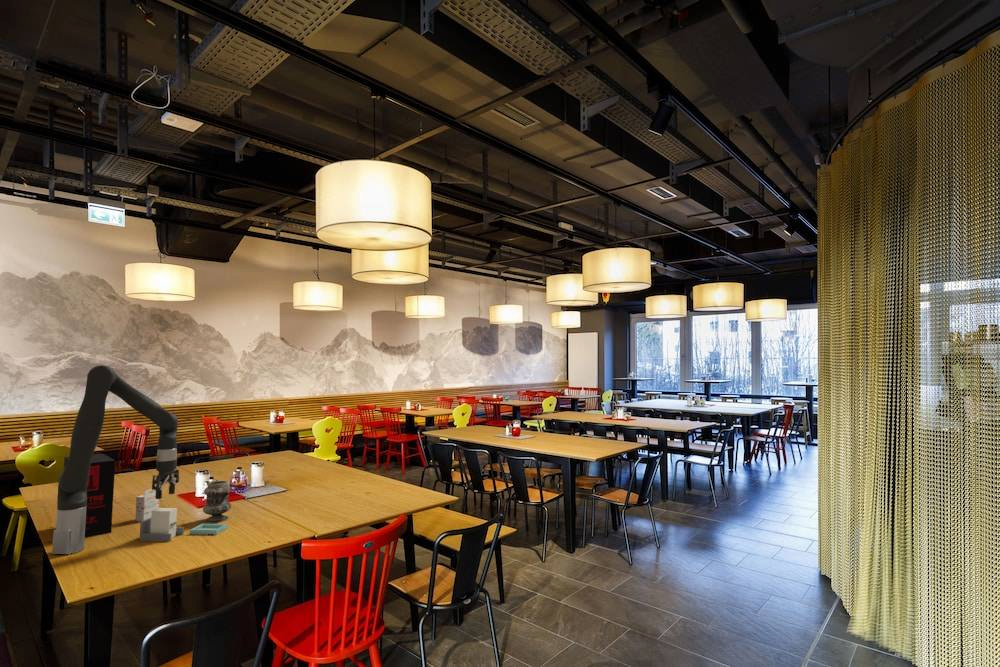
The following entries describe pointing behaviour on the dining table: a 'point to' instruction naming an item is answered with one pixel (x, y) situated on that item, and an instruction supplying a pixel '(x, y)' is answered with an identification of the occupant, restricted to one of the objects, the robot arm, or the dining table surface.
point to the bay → (147, 536)
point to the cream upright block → (164, 521)
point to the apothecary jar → (217, 501)
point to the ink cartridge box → (146, 505)
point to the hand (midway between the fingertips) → (165, 496)
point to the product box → (99, 495)
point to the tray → (208, 529)
